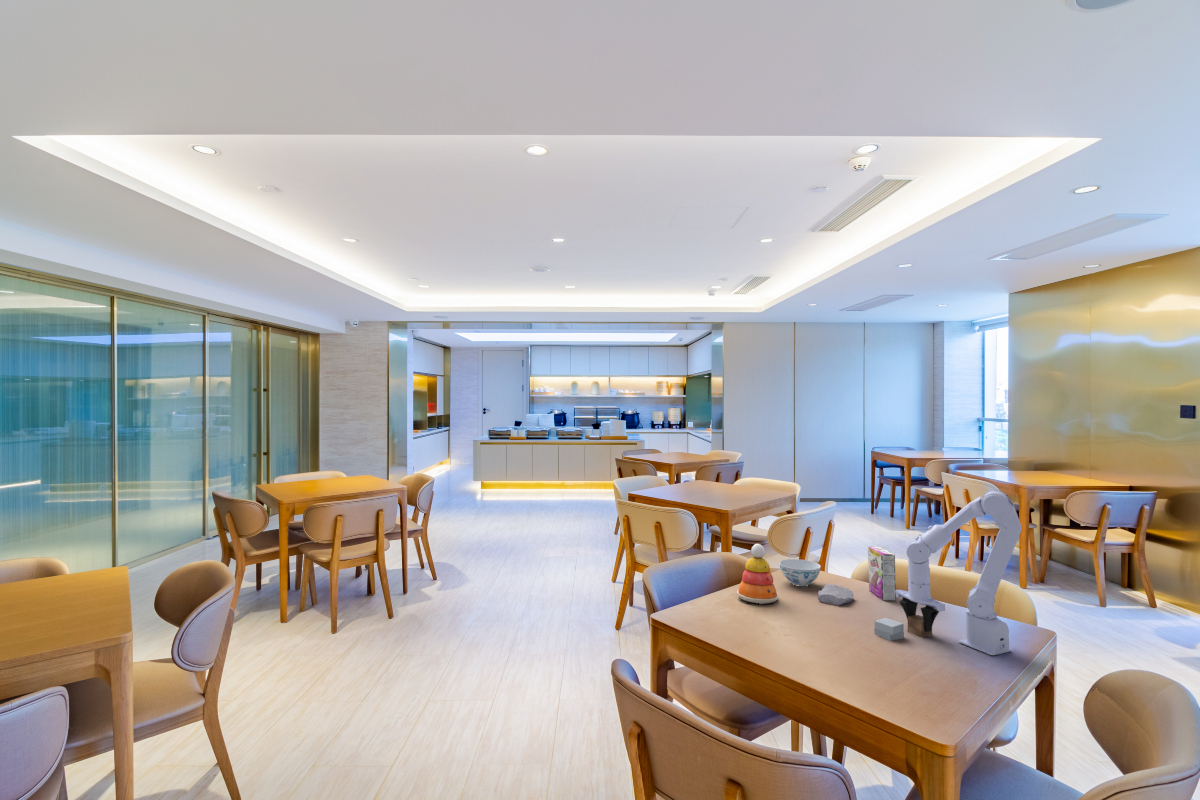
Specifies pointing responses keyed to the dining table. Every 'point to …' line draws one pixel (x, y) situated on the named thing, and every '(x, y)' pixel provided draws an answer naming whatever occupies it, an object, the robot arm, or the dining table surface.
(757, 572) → the stacking toy
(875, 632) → the tower base
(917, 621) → the walnut cube
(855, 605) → the dining table surface
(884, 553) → the candy bar box
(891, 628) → the tower top
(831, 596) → the stone block
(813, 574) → the chinaware
